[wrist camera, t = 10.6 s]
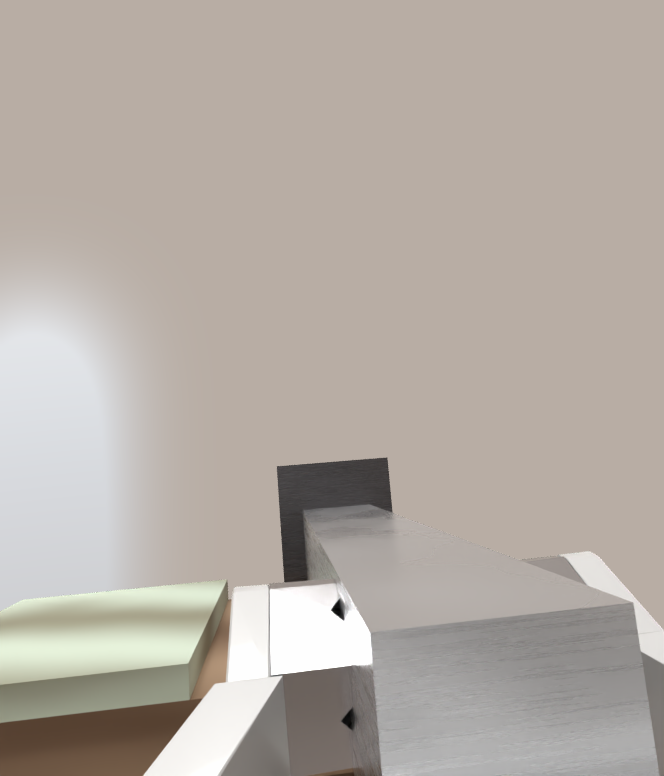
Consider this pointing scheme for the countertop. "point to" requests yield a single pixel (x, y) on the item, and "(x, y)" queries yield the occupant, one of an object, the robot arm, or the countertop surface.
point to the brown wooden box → (107, 676)
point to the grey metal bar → (464, 642)
